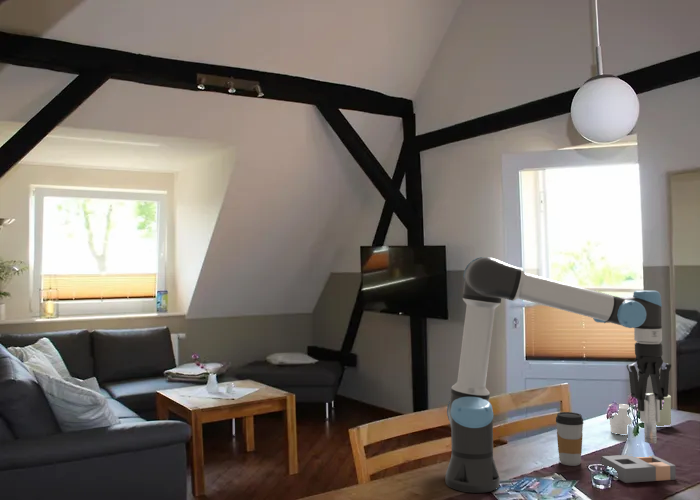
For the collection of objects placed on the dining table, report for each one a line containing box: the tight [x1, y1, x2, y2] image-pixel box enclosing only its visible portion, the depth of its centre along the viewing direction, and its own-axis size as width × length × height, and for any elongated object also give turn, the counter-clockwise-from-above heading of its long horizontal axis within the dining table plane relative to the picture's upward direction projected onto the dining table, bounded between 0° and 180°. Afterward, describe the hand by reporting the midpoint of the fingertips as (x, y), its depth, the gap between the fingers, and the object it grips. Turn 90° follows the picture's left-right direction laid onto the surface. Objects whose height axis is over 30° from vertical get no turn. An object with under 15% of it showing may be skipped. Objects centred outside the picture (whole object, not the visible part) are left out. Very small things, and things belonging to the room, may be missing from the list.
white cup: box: [608, 403, 633, 434], centre depth 237 cm, size 8×8×10 cm
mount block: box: [601, 454, 677, 484], centre depth 191 cm, size 16×12×4 cm
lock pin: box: [643, 392, 657, 444], centre depth 192 cm, size 3×3×14 cm
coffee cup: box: [555, 411, 584, 466], centre depth 202 cm, size 8×8×15 cm
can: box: [649, 392, 672, 426], centre depth 249 cm, size 9×9×12 cm
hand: (650, 421), depth 192 cm, fingers closed on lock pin, 3 cm apart
